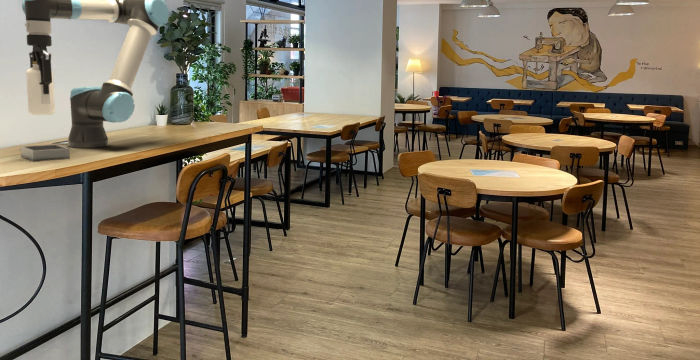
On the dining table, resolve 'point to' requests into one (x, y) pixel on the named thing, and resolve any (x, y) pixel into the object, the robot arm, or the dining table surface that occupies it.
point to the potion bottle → (38, 93)
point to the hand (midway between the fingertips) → (42, 103)
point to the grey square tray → (45, 152)
